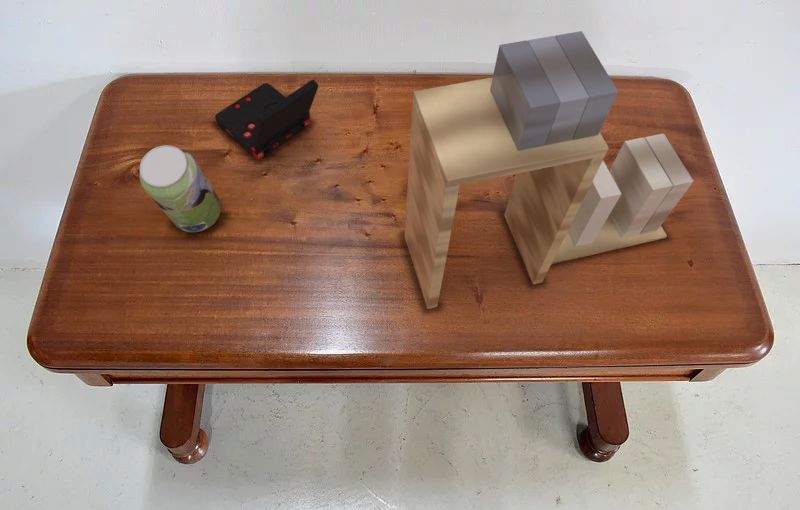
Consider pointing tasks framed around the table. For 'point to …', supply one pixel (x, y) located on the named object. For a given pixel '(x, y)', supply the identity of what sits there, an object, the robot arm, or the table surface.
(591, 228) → the white book
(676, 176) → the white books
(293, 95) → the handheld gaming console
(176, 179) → the beverage can
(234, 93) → the table surface
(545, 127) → the wooden stand
